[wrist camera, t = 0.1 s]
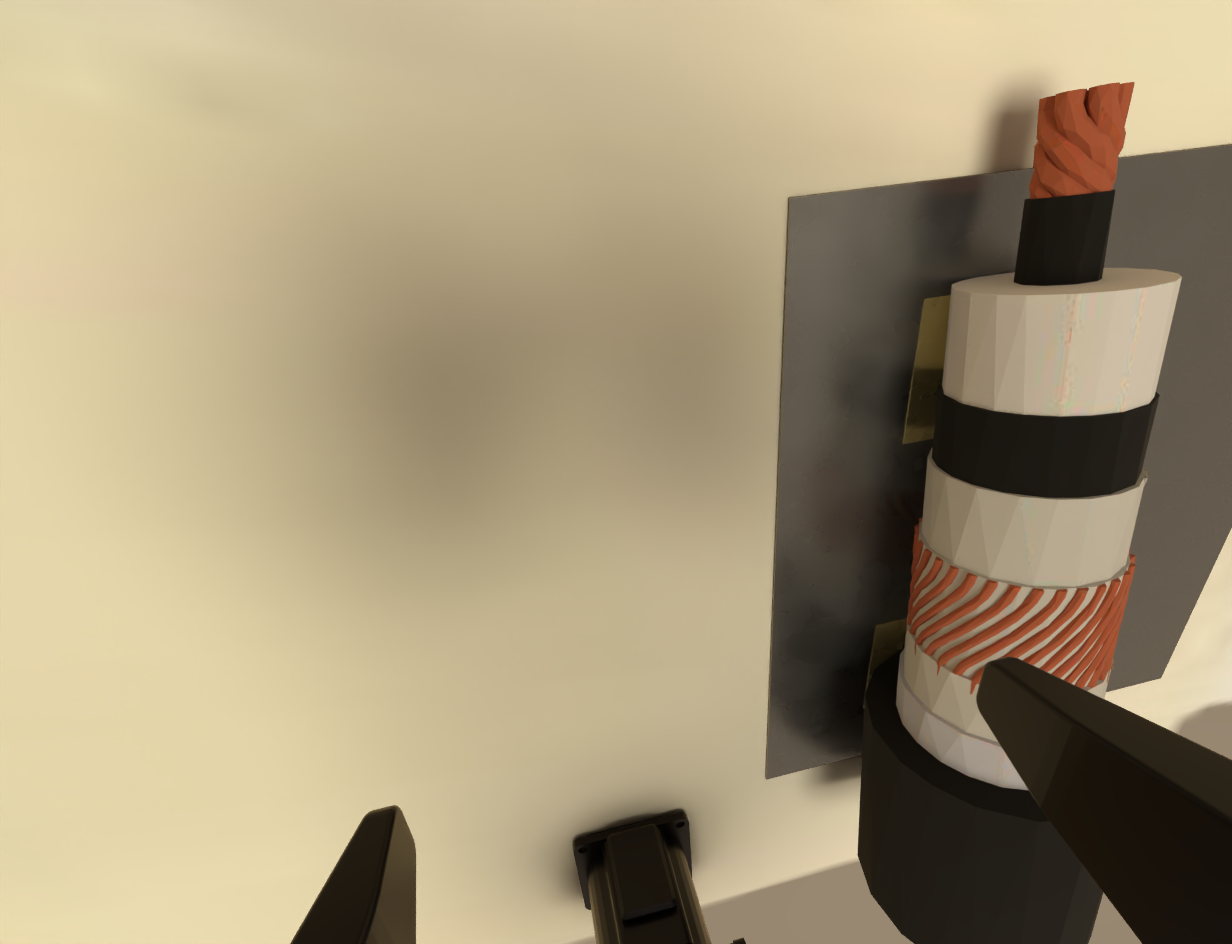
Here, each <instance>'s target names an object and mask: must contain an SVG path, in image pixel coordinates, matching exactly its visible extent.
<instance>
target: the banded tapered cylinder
mask: <svg viewBox="0 0 1232 944" xmlns="http://www.w3.org/2000/svg"><path fill="white" fill-rule="evenodd" d="M1133 88H1134V82H1131V83H1123V84H1120V83H1111V84H1106V85H1100V86H1096V87H1092V88H1089V90H1088V91H1087V89H1078V90H1073V91H1067V92H1063V93H1059V94H1056V96H1051V97H1046V98H1043V99H1040V101H1039V111H1038V125H1037V140H1038V142H1037V144H1036V145H1035V150H1034V162H1033V168H1034V172H1033V175H1032V178H1031V181H1030V184H1029V191H1030V198H1029V199H1025V201H1024V208H1023V216H1022V223H1021V230H1020V238H1019V245H1018V253H1017V260H1016V268H1015V272H1014V273H1004V274H995V275H989V276H982V277H975V278H971V279H967V280H963V281H959V282H957V283H954V284H952V287H951V298H950V308H949V319H948V329H947V339H946V350H945V360H944V371H943V381H942V384H941V385H940V387H939V388H938V390H937V402H936V414H935V425H934V437H933V448H931V451H930V453H929V455H928V460H927V472H926V484H925V496H924V508H923V518H919V525H916V526H915V535H914V544H913V562H912V569H911V574H912V580H911V584H910V595H911V596H910V599H909V605H908V616H907V627H906V638H905V648H904V650H902V651H898V652H897V653H895V654H894V655H893V656H891V657H890V658H889V659H887V660H886V661H884V662H883V663H882V664H880V665H879V666H878V667H876V668H875V669H874V672H873V674H872V677H871V679H870V682H869V685H868V687H867V690H866V693H865V701H864V724H863V746H862V769H861V791H860V814H859V836H858V857H859V860H860V863H861V866H862V869H863V872H864V875H865V878H866V880H867V884H868V887H869V890H870V892H871V895H872V896H873V897H874V898H875V900H876V901H877V902H878V904H879V905H880V906H881V908H882V909H883V910H884V911H885V913H886V914H887V915H888V917H889V918H890V919H891V921H892V922H893V923H894V925H895V926H896V927H897V929H898V930H899V931H900V932H901V934H903V935H904V936H905V937H906V938H908V939H909V940H910V941H912V942H913V943H914V944H1088V943H1089V940H1090V937H1091V934H1092V930H1093V927H1094V923H1095V920H1096V916H1097V913H1098V909H1099V906H1100V902H1101V899H1102V895H1103V891H1102V890H1101V888H1100V887H1099V886H1098V884H1097V883H1096V882H1095V880H1094V879H1093V878H1092V876H1091V875H1090V874H1089V872H1088V871H1087V870H1086V868H1085V867H1084V866H1083V864H1082V863H1081V862H1080V860H1079V859H1078V858H1077V856H1076V855H1075V854H1074V852H1073V851H1072V850H1071V849H1070V847H1069V846H1068V845H1067V843H1066V842H1065V841H1064V839H1063V838H1062V837H1061V835H1060V834H1059V833H1058V831H1057V830H1056V829H1055V827H1054V826H1053V825H1052V823H1051V822H1050V821H1049V819H1048V818H1047V816H1046V815H1045V814H1044V812H1043V811H1042V810H1041V808H1040V807H1039V805H1038V804H1037V802H1036V801H1035V799H1034V798H1033V796H1032V795H1031V793H1030V792H1029V790H1028V788H1027V787H1026V785H1025V784H1024V782H1023V781H1022V779H1021V777H1020V776H1019V774H1018V773H1017V771H1016V769H1015V768H1014V766H1013V765H1012V763H1011V761H1010V760H1009V758H1008V757H1007V755H1006V754H1005V752H1004V750H1003V749H1002V747H1001V746H1000V744H999V742H998V741H997V739H996V738H995V736H994V734H993V733H992V731H991V730H990V728H989V726H988V725H987V723H986V722H985V720H984V719H983V717H982V715H981V714H980V712H979V709H978V707H977V703H976V695H977V691H978V687H979V684H980V680H981V676H982V672H983V669H984V666H985V664H986V663H988V662H989V661H992V660H996V659H1000V658H1005V657H1015V658H1018V659H1021V660H1023V661H1025V662H1027V663H1029V664H1031V665H1033V666H1035V667H1038V668H1040V669H1042V670H1044V671H1046V672H1048V673H1050V674H1052V675H1054V676H1056V677H1059V678H1061V679H1063V680H1065V681H1067V682H1069V683H1071V684H1073V685H1075V686H1077V687H1080V688H1082V689H1084V690H1086V691H1088V692H1090V693H1092V694H1094V695H1096V696H1098V697H1101V698H1103V699H1104V697H1105V693H1106V689H1107V685H1108V680H1109V676H1110V672H1111V669H1114V658H1113V655H1114V650H1115V646H1116V642H1117V639H1118V633H1119V628H1120V625H1121V622H1122V619H1123V615H1124V609H1125V606H1126V603H1127V599H1128V594H1129V589H1130V586H1131V582H1132V578H1133V574H1134V570H1135V567H1136V565H1135V564H1134V563H1135V557H1136V556H1135V555H1133V554H1131V553H1130V544H1131V540H1132V535H1133V531H1134V527H1135V522H1136V518H1137V514H1138V509H1139V505H1140V501H1141V496H1142V492H1143V488H1144V486H1145V484H1146V482H1147V479H1148V471H1145V470H1144V469H1143V468H1142V467H1143V463H1144V459H1145V455H1146V451H1147V446H1148V442H1149V438H1150V434H1151V430H1152V426H1153V422H1154V417H1155V413H1156V409H1157V405H1158V401H1159V397H1160V395H1159V394H1158V393H1157V392H1156V388H1157V384H1158V379H1159V375H1160V370H1161V366H1162V362H1163V357H1164V353H1165V349H1166V344H1167V340H1168V336H1169V331H1170V327H1171V323H1172V318H1173V314H1174V310H1175V305H1176V301H1177V297H1178V292H1179V288H1180V284H1181V279H1182V276H1181V275H1179V274H1178V273H1174V272H1168V271H1162V270H1156V269H1135V268H1104V262H1105V256H1106V249H1107V243H1108V236H1109V229H1110V223H1111V216H1112V210H1113V203H1114V197H1115V189H1113V185H1114V183H1115V181H1116V175H1117V166H1118V155H1119V154H1120V152H1121V150H1122V148H1123V145H1124V140H1125V134H1126V132H1125V128H1124V126H1125V122H1126V118H1127V114H1128V109H1129V105H1130V101H1131V97H1132V92H1133Z"/></svg>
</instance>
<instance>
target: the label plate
mask: <svg viewBox="0 0 1232 944" xmlns="http://www.w3.org/2000/svg"><path fill="white" fill-rule="evenodd" d="M1033 172H1034V168H1030V169H1022V170H1014V171H1005V172H997V173H989V174H980V175H972V176H964V177H956V178H947V179H939V180H931V181H922V182H914V183H906V184H898V185H889V186H881V187H873V188H864V189H856V190H848V191H840V192H831V193H823V194H815V195H806V196H798V197H790V198H789V209H788V234H787V259H786V283H785V308H784V333H783V358H782V383H781V408H780V433H779V458H778V483H777V508H776V533H775V558H774V583H773V608H772V633H771V658H770V683H769V707H768V732H767V757H766V779H770V778H774V777H778V776H782V775H786V774H789V773H793V772H797V771H801V770H805V769H809V768H813V767H817V766H821V765H825V764H828V763H832V762H836V761H840V760H844V759H848V758H852V757H856V756H860V755H862V746H863V724H864V701H865V693H866V690H867V687H868V685H869V682H870V679H871V677H872V674H873V672H874V669H875V668H876V667H878V666H879V665H880V664H882V663H883V662H884V661H886V660H887V659H889V658H890V657H891V656H893V655H894V654H895V653H897V652H898V651H902V650H904V648H905V638H906V627H907V616H908V605H909V599H910V596H911V595H910V584H911V580H912V574H911V569H912V562H913V544H914V535H915V526H916V525H919V518H923V508H924V496H925V484H926V472H927V460H928V455H929V453H930V451H931V448H933V437H934V425H935V414H936V402H937V390H938V388H939V387H940V385H941V384H942V381H943V371H944V360H945V350H946V339H947V329H948V319H949V308H950V298H951V287H952V284H954V283H957V282H959V281H963V280H967V279H971V278H975V277H982V276H989V275H995V274H1004V273H1014V272H1015V268H1016V260H1017V253H1018V245H1019V238H1020V230H1021V223H1022V216H1023V208H1024V201H1025V199H1029V198H1030V191H1029V184H1030V181H1031V178H1032V175H1033ZM1113 189H1115V197H1114V203H1113V210H1112V216H1111V223H1110V229H1109V236H1108V243H1107V249H1106V256H1105V262H1104V268H1135V269H1156V270H1162V271H1168V272H1174V273H1178V274H1179V275H1181V276H1182V279H1181V284H1180V288H1179V292H1178V297H1177V301H1176V305H1175V310H1174V314H1173V318H1172V323H1171V327H1170V331H1169V336H1168V340H1167V344H1166V349H1165V353H1164V357H1163V362H1162V366H1161V370H1160V375H1159V379H1158V384H1157V388H1156V392H1157V393H1158V394H1159V395H1160V397H1159V401H1158V405H1157V409H1156V413H1155V417H1154V422H1153V426H1152V430H1151V434H1150V438H1149V442H1148V446H1147V451H1146V455H1145V459H1144V463H1143V467H1142V468H1143V469H1144V470H1145V471H1148V479H1147V482H1146V484H1145V486H1144V488H1143V492H1142V496H1141V501H1140V505H1139V509H1138V514H1137V518H1136V522H1135V527H1134V531H1133V535H1132V540H1131V544H1130V553H1131V554H1133V555H1135V556H1136V557H1135V563H1134V564H1135V565H1136V567H1135V570H1134V574H1133V578H1132V582H1131V586H1130V589H1129V594H1128V599H1127V603H1126V606H1125V609H1124V615H1123V619H1122V622H1121V625H1120V628H1119V633H1118V639H1117V642H1116V646H1115V650H1114V655H1113V658H1114V669H1111V672H1110V676H1109V680H1108V685H1107V689H1106V692H1109V691H1113V690H1117V689H1120V688H1124V687H1128V686H1132V685H1136V684H1140V683H1144V682H1148V681H1152V680H1155V679H1159V678H1161V677H1162V675H1163V673H1164V671H1165V668H1166V666H1167V664H1168V662H1169V660H1170V658H1171V656H1172V654H1173V651H1174V649H1175V647H1176V645H1177V643H1178V641H1179V639H1180V636H1181V634H1182V632H1183V630H1184V628H1185V626H1186V624H1187V622H1188V619H1189V617H1190V615H1191V613H1192V611H1193V609H1194V607H1195V605H1196V602H1197V600H1198V598H1199V596H1200V594H1201V592H1202V590H1203V588H1204V585H1205V583H1206V581H1207V579H1208V577H1209V575H1210V573H1211V570H1212V568H1213V566H1214V564H1215V562H1216V560H1217V558H1218V556H1219V553H1220V551H1221V549H1222V547H1223V545H1224V543H1225V541H1226V539H1227V536H1228V534H1229V532H1230V530H1231V528H1232V144H1229V145H1221V146H1213V147H1204V148H1196V149H1188V150H1179V151H1171V152H1163V153H1154V154H1146V155H1138V156H1130V157H1121V158H1118V166H1117V175H1116V181H1115V183H1114V185H1113Z"/></svg>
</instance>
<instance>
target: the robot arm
mask: <svg viewBox="0 0 1232 944" xmlns="http://www.w3.org/2000/svg"><path fill="white" fill-rule="evenodd" d="M976 703H977V707H978V709H979V712H980V714H981V715H982V717H983V719H984V720H985V722H986V723H987V725H988V726H989V728H990V730H991V731H992V733H993V734H994V736H995V738H996V739H997V741H998V742H999V744H1000V746H1001V747H1002V749H1003V750H1004V752H1005V754H1006V755H1007V757H1008V758H1009V760H1010V761H1011V763H1012V765H1013V766H1014V768H1015V769H1016V771H1017V773H1018V774H1019V776H1020V777H1021V779H1022V781H1023V782H1024V784H1025V785H1026V787H1027V788H1028V790H1029V792H1030V793H1031V795H1032V796H1033V798H1034V799H1035V801H1036V802H1037V804H1038V805H1039V807H1040V808H1041V810H1042V811H1043V812H1044V814H1045V815H1046V816H1047V818H1048V819H1049V821H1050V822H1051V823H1052V825H1053V826H1054V827H1055V829H1056V830H1057V831H1058V833H1059V834H1060V835H1061V837H1062V838H1063V839H1064V841H1065V842H1066V843H1067V845H1068V846H1069V847H1070V849H1071V850H1072V851H1073V852H1074V854H1075V855H1076V856H1077V858H1078V859H1079V860H1080V862H1081V863H1082V864H1083V866H1084V867H1085V868H1086V870H1087V871H1088V872H1089V874H1090V875H1091V876H1092V878H1093V879H1094V880H1095V882H1096V883H1097V884H1098V886H1099V887H1100V888H1101V890H1102V891H1103V892H1104V893H1105V895H1106V896H1107V897H1108V899H1109V900H1110V901H1111V903H1112V904H1113V905H1114V907H1115V908H1116V909H1117V911H1118V912H1119V913H1120V915H1121V916H1122V917H1123V919H1124V920H1125V921H1126V923H1127V924H1128V925H1129V926H1130V928H1131V929H1132V931H1133V932H1134V933H1135V935H1136V936H1137V937H1138V939H1139V940H1140V941H1141V943H1142V944H1232V760H1231V759H1229V758H1227V757H1225V756H1223V755H1220V754H1218V753H1216V752H1214V751H1212V750H1210V749H1208V748H1206V747H1204V746H1202V745H1199V744H1197V743H1195V742H1193V741H1191V740H1189V739H1187V738H1185V737H1183V736H1180V735H1178V734H1176V733H1174V732H1172V731H1170V730H1168V729H1166V728H1164V727H1162V726H1159V725H1157V724H1155V723H1153V722H1151V721H1149V720H1147V719H1145V718H1143V717H1141V716H1138V715H1136V714H1134V713H1132V712H1130V711H1128V710H1126V709H1124V708H1122V707H1120V706H1117V705H1115V704H1113V703H1111V702H1109V701H1107V700H1105V699H1103V698H1101V697H1098V696H1096V695H1094V694H1092V693H1090V692H1088V691H1086V690H1084V689H1082V688H1080V687H1077V686H1075V685H1073V684H1071V683H1069V682H1067V681H1065V680H1063V679H1061V678H1059V677H1056V676H1054V675H1052V674H1050V673H1048V672H1046V671H1044V670H1042V669H1040V668H1038V667H1035V666H1033V665H1031V664H1029V663H1027V662H1025V661H1023V660H1021V659H1018V658H1015V657H1005V658H1000V659H996V660H992V661H989V662H988V663H986V664H985V666H984V669H983V672H982V676H981V680H980V684H979V687H978V691H977V695H976ZM573 851H574V856H575V861H576V866H577V870H578V875H579V880H580V884H581V889H582V893H583V898H584V903H585V907H586V909H588V910H592V917H593V924H594V930H595V937H596V944H711V941H710V938H709V934H708V931H707V927H706V924H705V921H704V917H703V914H702V911H701V907H700V904H699V901H698V897H697V894H696V890H695V887H694V884H693V880H692V866H691V849H690V831H689V821H688V818H687V815H686V813H684V812H678V813H674V814H670V815H666V816H662V817H658V818H655V819H651V820H647V821H643V822H639V823H635V824H631V825H628V826H624V827H620V828H616V829H612V830H608V831H604V832H601V833H597V834H593V835H589V836H585V837H581V838H578V839H576V840H575V841H574V842H573ZM290 944H416V849H415V843H414V839H413V836H412V834H411V832H410V829H409V827H408V825H407V822H406V820H405V818H404V815H403V813H402V811H401V809H400V808H399V807H398V806H396V805H393V806H389V807H385V808H381V809H376V810H372V811H370V812H369V813H368V814H366V815H365V817H364V818H363V819H362V821H361V823H360V824H359V826H358V828H357V830H356V831H355V833H354V835H353V837H352V838H351V840H350V842H349V843H348V845H347V847H346V849H345V850H344V852H343V854H342V855H341V857H340V859H339V861H338V862H337V864H336V866H335V868H334V869H333V871H332V873H331V874H330V876H329V878H328V880H327V881H326V883H325V885H324V887H323V888H322V890H321V892H320V893H319V895H318V897H317V899H316V900H315V902H314V904H313V905H312V907H311V909H310V911H309V912H308V914H307V916H306V918H305V919H304V921H303V923H302V924H301V926H300V928H299V930H298V931H297V933H296V935H295V937H294V938H293V940H292V942H291V943H290ZM731 944H746V943H745V940H744V938H740V939H737V940H733V943H731Z"/></svg>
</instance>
